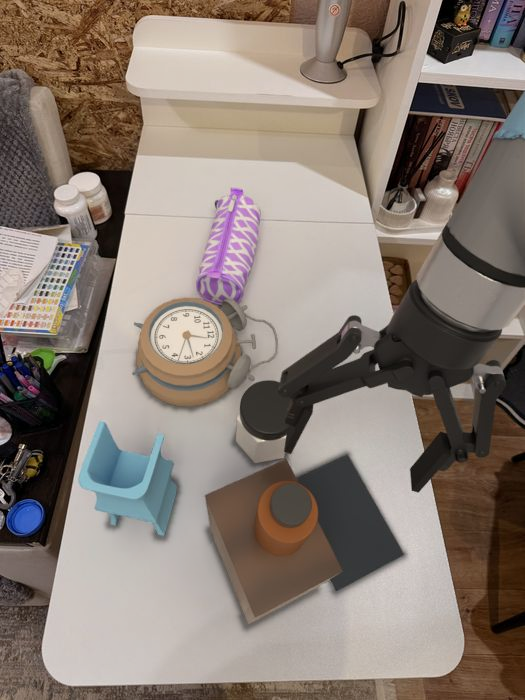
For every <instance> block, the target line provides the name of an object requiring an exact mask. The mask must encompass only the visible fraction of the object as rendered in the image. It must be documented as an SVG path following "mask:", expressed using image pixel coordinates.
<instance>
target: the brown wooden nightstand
mask: <svg viewBox="0 0 525 700" xmlns="http://www.w3.org/2000/svg"><path fill="white" fill-rule="evenodd" d="M297 478H298V477H297V476H296V474H295V472H294V471H293V468H292V467H291V464H290V462H289V460H288V459H287V458H285V459H282V460H280V461H278V462H276V463H274V464H272V465H269V466H267V467H264V468H263V469H261V470H258V471H256V472H253V473H252V474H249V475H247V476H245V477H243V478H240V479H239V480H236V481H233V482H232V483H229V484H227V485H225V486H222V487H220V488H218V489H216V490H214V491H211V492H209V493H207V494H205V495H204V500H205V505H206V512H207V517H208V524H209V531H210V533H211V536H212V538H213V540H214V543H215V545H216V548H217V550H218V553H219V555H220V558H221V560H222V563H223V565H224V568H225V570H226V573H227V575H228V578H229V579H230V583H231V585H232V587H233V590H234V592H235V595H236V598H237V601H238V602H239V605H240V607H241V610H242V612H243V615H244V617H245V619H246V622H247V624H248V625H250V624H252V623H254V622H256V621H258V620H259V619H262V618H263V617H265V616H267V615H269V614H271V613H273V612H274V611H276V610H278V609H280V608H282V607H284V606H286V605H287V604H289V603H292V602H294V601H295V600H297V599H299V598H301V597H303V596H304V595H306V594H308V593H310V592H312V591H315V590H316V589H317V588H319V587H320V586H322V585H324V584H325V583H327V582H328V581H331V578H333V577H335V576H336V575H338V574H339V573H341V572H342V571H343V570H342V568H341V566H340V564H339V562H338V560H337V558H336V556H335V554H334V552H333V550H332V548H331V546H330V544H329V542H328V540H327V538H326V536H325V534H324V532H323V530H322V528H321V526H320V524H319V522H318V520H317V523H316V526H315V528H314V529H313V531H312V532H311V534H310V535H309V536H308V538H307V539H306V540H305V542H304V543H303V544H302V546H301V547H300V548H299V549H298V550H297V551H296V552H294V553H292V554H290V555H287V556H276V555H272V554H270V553H268V552H267V551H265V550H264V549H263V548H262V547H261V546H260V544H259V543H258V541H257V539H256V536H255V532H254V524H255V518H256V514H257V509H258V504H259V501H260V498H261V496H262V494H263V493H264V492H265V490H266V489H267V488H269V487H270V486H271V485H273V484H275V483H278V482H282V481H292V482H296V483H299V482H298V480H297Z"/></svg>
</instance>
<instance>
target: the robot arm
mask: <svg viewBox="0 0 525 700" xmlns="http://www.w3.org/2000/svg"><path fill="white" fill-rule="evenodd" d="M444 225H445V226H444V227H443V229H442V230H441V232H440V234H439V236H438V238H437V239H436V241H435V243H434V244H433V246H432V248H431V249H430V251H429V253H428V254H427V256H426V258H425V260H424V262H423V264H422V265H421V267H420V269H419V270H418V272H417V274H416V279H415V280H414V281H412V282H411V283H410V285H409V287H408V289H407V290H406V292H405V294H404V296H403V297H402V299H401V301H400V303H399V305H398V306H397V307H396V310H395V312H394V313H393V315H392V317H391V319H390V321H389V323H388V324H387V325H385V327H383V328H382V329H380V330H379V331H378V330H375V329H373V328H370V327H368V326H366V325H363V323H362V322H363V321H362V318H361V317H360V316H359V315H355V314H354V315H353V314H352V315H350V316H348V317H347V319H346V320H345V321H344V323H343V325H342V326H341V327H340V329H339V331H338V332H336V333H335V334H334V335H332V336H331V337H329V338H328V339H326V340H325V341H324V342H322V343H321V344H319V345H318V346H316V347H315V348H313V349H312V350H311V351H309V352H308V353H306V354H305V355H304V356H302V357H301V358H299V359H298V360H296V361H295V362H294V363H292V364H290V365H289V366H288V367H285V369H284V370H282V371H281V374H280V379H279V382H280V384H279V390H278V394H279V395H280V396H282V397H290V398H291V401H290V403H289V405H288V407H287V410H286V417H285V424H288V425H290V426H289V428H288V430H287V435H286V441H285V448H284V452H286V453H285V454H289V455H291V454H292V453H293V451H294V450H295V447H296V445H297V444H298V442H299V440H300V438H301V436H302V434H303V433H304V431H305V428H306V427H307V424H308V423H309V422H310V419H311V417H312V415H313V412H314V405H316V404H318V403H319V404H320V403H321V402H324V401H327V400H329V399H333V398H336V397H338V396H339V397H340V396H341V395H344V394H347V393H350V392H353V391H356V390H359V389H362V388H365V387H367V388H369V389H374V388H377V387H380V386H383V385H385V384H387V387H388V388H390V389H394V390H398V391H406V392H407V393H409V394H411V395H413V396H416V397H419V398H423V396H431V395H432V396H433V399H434V401H435V405H436V408H437V410H438V412H439V414H440V417H441V420H442V423H443V426H444V429H445V432H443V431H439V432H438V434H437V435H436V436H435V437H434V438H433V440H432V441H431V442H430V444H428V446H427V447H426V448H425V449H424V451H423V452H422V453H421V454H420V456H419V457H418V458H417V459H416V461H415V462H414V463H413V464H412V465H411V466H410V468H409V475H410V476H409V477H410V487H411V492H415V493H420V492H421V491H422V490H423V488H425V486H426V485H427V484H428V483H429V482H430V481H431V480H432V478H433V477H434V476H435V475H436V474H437V473H438V472H439V471H440V472H445V471H448V470H449V469H450V468H451V466H452V465H453V464H454V463H455V462H456V463H459V464H463V463H466V462H468V461H469V455H468V454H469V453H470V454H474V455H475V456H476V457H477V458H479V459H481V458H487V457H488V456H489V455H490V449H491V443H492V435H493V429H494V427H493V426H494V420H495V411H496V404H497V400H498V398H499V397H500V396H501V394H502V393H503V392H504V389H505V388H506V386H507V381H506V378H505V375H504V372H503V371H504V370H503V369H502V365H501V363H500V361H498V360H497V359H492V360H489V361H486V363H485V364H484V363H480V362H481V361H482V359H484V357H485V356H486V354H487V353H488V352H489V351H490V349H491V348H492V347H493V346H494V344H495V343H496V342H497V341H498V339H499V338H500V337H501V335H502V332H503V329H504V328H507V327H509V326H510V325H511V323H512V322H513V321H514V320H515V318H516V317H517V315H519V313H520V312H521V310H522V309H523V308H524V306H525V90H524V91H523V93H522V94H521V96H520V97H519V99H518V100H517V102H516V103H515V105H514V106H513V108H512V109H511V111H510V113H509V114H508V116H507V117H506V119H505V120H504V121H503V123H502V124H501V125H500V128H499V129H498V130H497V131H495V132H494V134H493V137H492V138H491V142H490V145H489V146H488V148H487V150H486V151H485V154H484V156H483V158H482V160H481V161H480V163H479V165H478V167H477V168H476V171H475V173H474V174H473V176H472V178H471V180H470V182H469V184H468V186H467V187H466V188H465V191H464V193H463V195H462V196H461V198H460V199H459V201H458V203H457V205H456V207H455V209H454V210H453V212H452V214H451V216H450V217H449V218H448V221H447V222H446V223H445V224H444ZM367 347H369V348H370V347H371V348H373V349H371V350H368V351H366V352H364V353H362V355H361V356H360V357H359V358H356V359H354V360H351V361H349V362H346V363H344V364H342V363H343V362H345V361H346V360H347V359H348V358H350V356H351V355H352V354H353V353H354V355H356V354H357V355H358V354H360V353H361V351H363V349H364V348H367ZM376 366H378V369H377V370H376ZM470 379H472V385H473V388H474V398H473V408H472V418H471V429H470V430H471V431H470V432H468V431H467V432H464V429H463V426H462V422H461V419H460V416H459V413H458V410H457V407H456V403H455V399H454V397H453V393H452V390H451V388H453V387H455V386H458V385H461V384H463V383H466V382H468V381H470Z"/></svg>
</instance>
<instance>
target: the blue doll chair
mask: <svg viewBox="0 0 525 700" xmlns="http://www.w3.org/2000/svg"><path fill="white" fill-rule="evenodd" d="M164 439H165V434H162V433H157V434H156V437H155V439H154V444H153V447H152V449H151V453H150V455H146V454H145V455H144V454H140V453H136V452H131V451H127V450H124V449H123V450H122V449H121V448H119V447H118V445H117V443H116V441H115V439H114V437H113V435H112V433H111V430H110V428H109V427H108V425H107V423H106V422H105V421H100V420H99V421H98V423H97V425H96V428H95V431H94V433H93V435H92V438H91V441H90V444H89V446H88V449H87V452H86V454H85V457H84V460H83V462H82V464H81V467H80V470H79V474H78V477H77V482H78V485H79V486H80V487H81V488H82V489H84V490H86V491H90V492H93V493H95V496H96V500H95V504H94V510H95V511H96V512H101V513H106V514H107V515H109V517H110V525H111V526H117V523H118V520H119V517H120V516H121V517H126V518H131V519H136V520H139V521H144V522H149V523H151V524H152V525H153V527H154V529H155V531H156V533H157V535H158V536H161V537H165V535H166V531H167V528H168V525H169V521H170V517H171V514H172V510H173V507H174V502H175V500H176V495H177V491H178V486H177V484H176V482H175V481H174V480H172V473H173V469H174V465H175V462H174V460H171V459H170V460H169V459H167V458H165V457H164V456H163V455H162V446H163V442H164Z"/></svg>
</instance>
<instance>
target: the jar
mask: <svg viewBox="0 0 525 700" xmlns="http://www.w3.org/2000/svg"><path fill="white" fill-rule="evenodd" d="M279 384H280V381H277V380H273V379H272V380H271V379H269V380H268V379H267V380H266V379H265V380H260V381H257V382H254V383H253V384H252V385H250V386H249V387H248V388H247V389H245V391H244V392H243V394H242V395H241V399H240V402H239V412H238V414H237V417H236V429H235V430H236V432H235V433H236V435H235V442H236V443H237V445H238V446H239V447H240V448H241V449H242V450H243V451H244V452H245V454H246V455H247V456H248V457H249V458H250V460H252V463H255V464H258V463H262V462H269V461H274V460H275V461H276V460H280V459H284V457H285V456H286V454H287V453H286V452H284V448H285V441H286V435H287V430H288V428H289V426H290V425H288V424H285V417H286V410H287V407H288V405H289V403H290V401H291V398H290V397H282V396H280V395H279V394H278V390H279Z"/></svg>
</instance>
